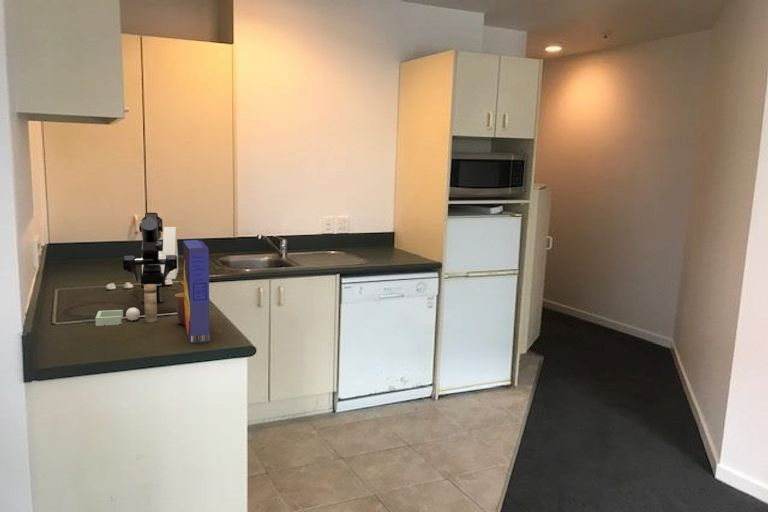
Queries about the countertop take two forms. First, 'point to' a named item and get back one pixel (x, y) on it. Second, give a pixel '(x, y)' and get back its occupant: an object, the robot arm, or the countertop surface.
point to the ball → (132, 314)
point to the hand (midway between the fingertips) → (150, 281)
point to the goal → (109, 317)
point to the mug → (180, 308)
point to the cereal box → (196, 291)
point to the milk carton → (169, 249)
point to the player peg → (150, 302)
